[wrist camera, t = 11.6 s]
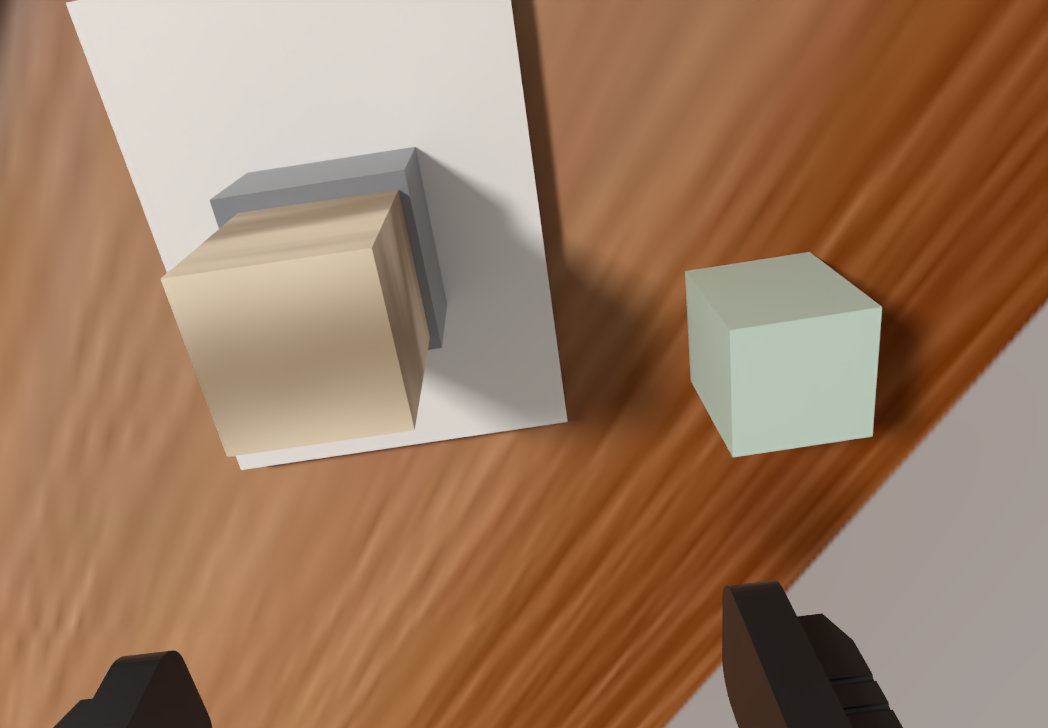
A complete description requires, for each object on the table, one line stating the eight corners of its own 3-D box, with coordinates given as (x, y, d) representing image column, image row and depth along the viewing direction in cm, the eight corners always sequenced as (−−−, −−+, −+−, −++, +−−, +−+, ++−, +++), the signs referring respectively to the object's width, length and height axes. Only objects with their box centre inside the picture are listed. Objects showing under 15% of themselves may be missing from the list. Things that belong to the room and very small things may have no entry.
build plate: (81, 2, 24) (-10, 2, 20) (501, -65, 24) (505, -80, 20) (248, 456, 32) (209, 530, 28) (565, 410, 32) (578, 476, 28)
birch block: (237, 213, 23) (160, 278, 17) (398, 189, 23) (371, 247, 17) (283, 358, 25) (227, 457, 19) (429, 337, 25) (414, 430, 19)
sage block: (684, 271, 30) (729, 330, 24) (809, 251, 29) (882, 306, 24) (690, 380, 32) (732, 457, 26) (806, 362, 32) (872, 436, 26)
